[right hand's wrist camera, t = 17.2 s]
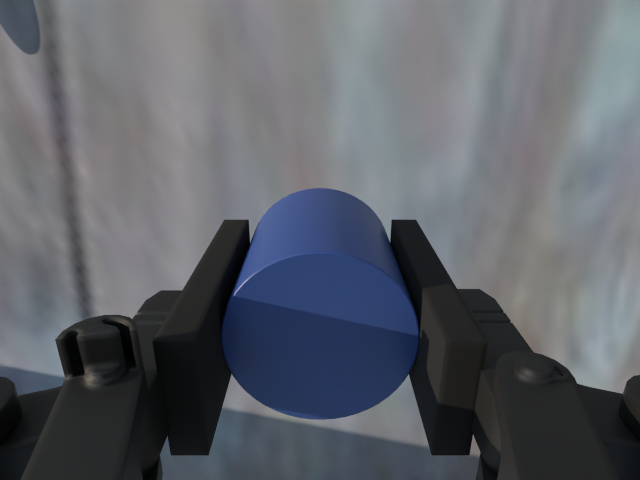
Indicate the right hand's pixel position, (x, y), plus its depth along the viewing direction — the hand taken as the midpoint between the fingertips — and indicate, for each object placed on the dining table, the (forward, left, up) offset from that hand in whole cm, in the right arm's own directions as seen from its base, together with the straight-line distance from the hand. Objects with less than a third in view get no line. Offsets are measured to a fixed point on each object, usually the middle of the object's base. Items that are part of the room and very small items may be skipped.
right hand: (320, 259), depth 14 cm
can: (0, 0, 0) cm, 0 cm away
